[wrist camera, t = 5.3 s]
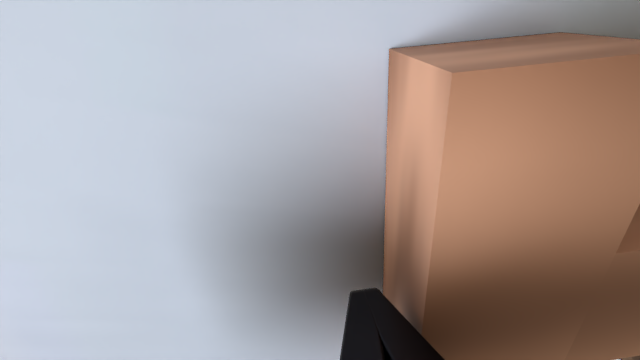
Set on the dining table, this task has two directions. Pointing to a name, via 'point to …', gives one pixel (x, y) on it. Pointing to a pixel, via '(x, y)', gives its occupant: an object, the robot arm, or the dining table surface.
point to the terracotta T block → (516, 196)
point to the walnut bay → (632, 358)
